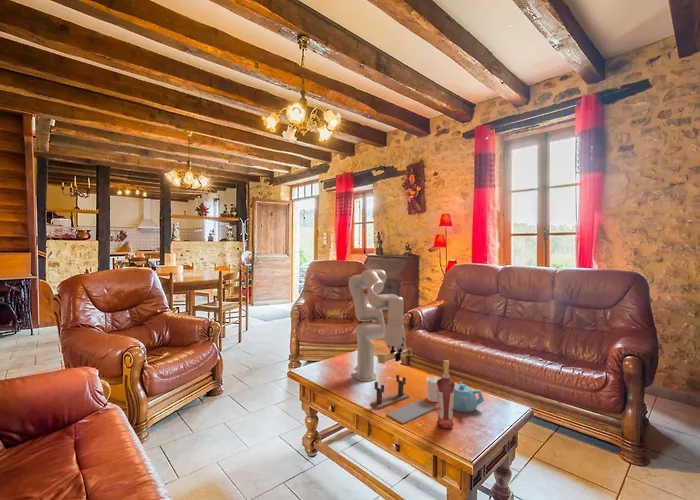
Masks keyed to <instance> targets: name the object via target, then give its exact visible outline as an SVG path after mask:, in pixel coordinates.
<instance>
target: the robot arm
mask: <svg viewBox="0 0 700 500" xmlns="http://www.w3.org/2000/svg"><path fill="white" fill-rule="evenodd" d="M386 281H387V274H386V272H385V271H384V270H383V269H380V268H379V269H378V268H377V269H365V270H363V271H362V273H360V274H354V275H352V276H350V277H349V279H348V289H349V292H350V294H351V297H352V299H353V305H354V311H355V317H356V319H357V320H358V321H361V322H362V323H359V324H358V325H357V326H356V327H355V333H356V341H357V356H356V357H357V365H356V366H355V367H354V371H356V373H355V374H354V378H355V380H357V381H359V382H372V381H375V380H376V379H377V374H376V373H375V371H374V370H375V367H374V366H375V365H374V364H375V347H374V345H373V343H372V342H371V340H375V339H376V340H377V339H378V340H379V339H383V338H384V343H385V345H386V346H387V347H388V351H389V354H390V353H394V352H396V353H395V359H394V361H395V362H401V361H402V357H401V352H402V351H403V350H405V349H406V348H407V346H406V329H405V325H404V305H405V304H404V301H405V300H404V298H403V297H402V296H398V295H397V294H396V293H395V294H394V293H385V294H384V293H383V294H380V293H381V292H383V290H384V288H385V283H386ZM365 289H366V290H367V289H368V290H367V293H365V292H364V291H363V290H365ZM383 310H387V324H386V322H385V319H384V313H383V312H384V311H383ZM366 321H370V322H366ZM371 321H373V322H371ZM391 360H392V361H393V359H391Z"/></svg>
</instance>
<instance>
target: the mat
mask: <svg viewBox="0 0 700 500" xmlns="http://www.w3.org/2000/svg"><path fill="white" fill-rule="evenodd" d="M435 410H437V407H436V406H433V405H431V404H429V403H427V402H425V401H423V400H421V399H419V400H416V401H414V402H411V403H409V404H407V405H405V406H402V407H400V408H397V409H395V410H393V411H390V412H388V413H386V416H388V417H389V418H390V419H392V420H394V421H396V422H398V424H399V423H400V424H401V425H405V424H407V423H409V422H411V421H413V420H416V419H417V418H419V417H422V416H424V415H426V414H428V413H430V412H432V411H435Z"/></svg>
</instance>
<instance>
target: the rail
mask: <svg viewBox="0 0 700 500" xmlns="http://www.w3.org/2000/svg"><path fill="white" fill-rule="evenodd" d="M412 350H413V349H412V347H406V349H405V350H403V351H402V352H401V358H403V357H413V351H412ZM395 353H396V352H394V353H390V352H389V353H387V354H377V362H378V364H383V365H385V364H386V362H388V361H390V360H391V359H392V360H395Z"/></svg>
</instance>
